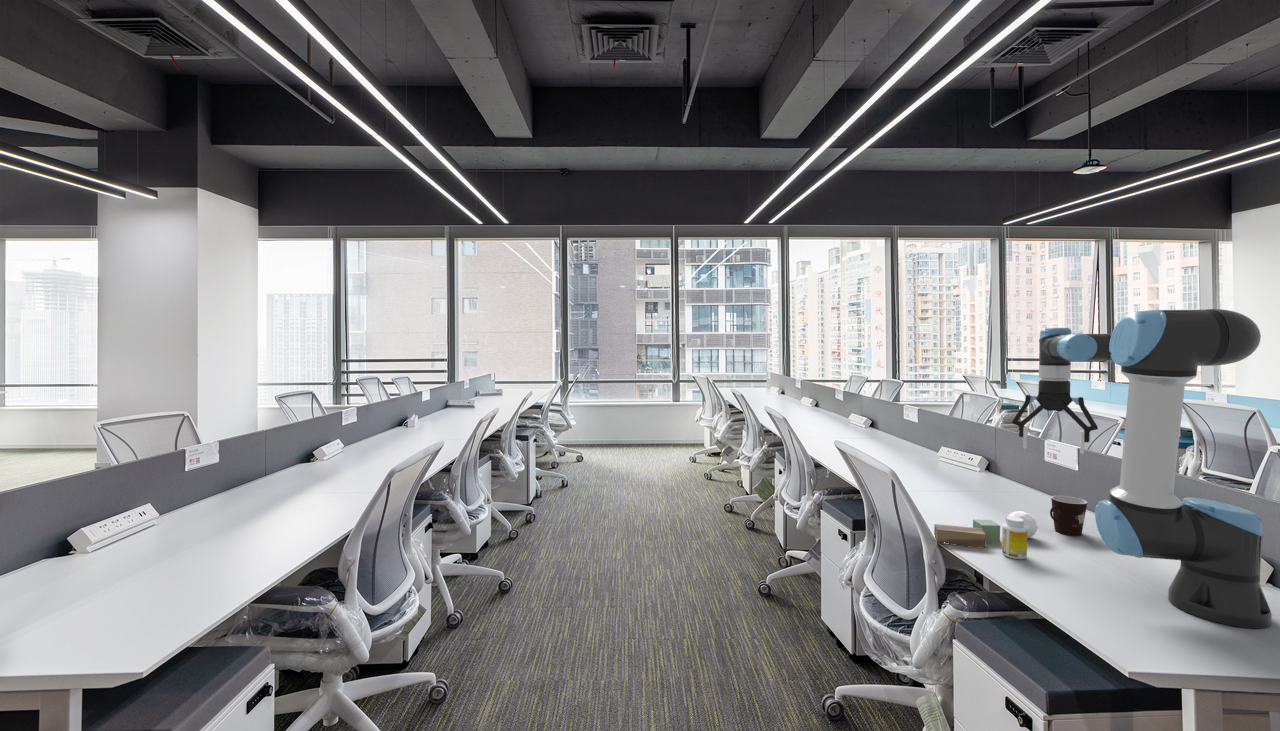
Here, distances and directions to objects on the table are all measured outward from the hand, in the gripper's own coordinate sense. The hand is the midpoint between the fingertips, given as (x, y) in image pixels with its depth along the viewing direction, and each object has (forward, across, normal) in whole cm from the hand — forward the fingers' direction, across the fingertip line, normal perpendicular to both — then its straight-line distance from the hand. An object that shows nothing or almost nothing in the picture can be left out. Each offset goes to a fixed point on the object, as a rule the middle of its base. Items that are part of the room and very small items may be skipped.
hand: (1052, 450), depth 162 cm
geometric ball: (+25, +7, +9) cm, 28 cm away
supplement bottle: (+26, +7, +27) cm, 38 cm away
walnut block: (+25, +21, +25) cm, 41 cm away
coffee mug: (+25, -3, -4) cm, 26 cm away
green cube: (+25, +15, +17) cm, 34 cm away
